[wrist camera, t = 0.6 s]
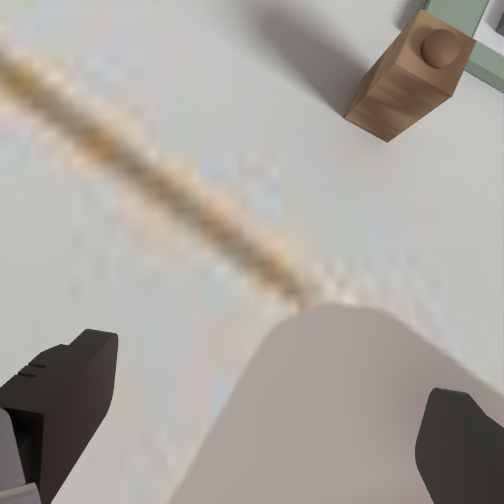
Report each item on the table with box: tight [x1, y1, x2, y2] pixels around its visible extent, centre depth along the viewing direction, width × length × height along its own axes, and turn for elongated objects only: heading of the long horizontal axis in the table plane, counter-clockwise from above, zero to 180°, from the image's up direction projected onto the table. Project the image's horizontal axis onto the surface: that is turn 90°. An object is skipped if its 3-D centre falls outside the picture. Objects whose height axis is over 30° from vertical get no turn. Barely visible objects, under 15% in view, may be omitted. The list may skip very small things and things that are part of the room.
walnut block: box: [344, 9, 477, 143], centre depth 35 cm, size 5×5×11 cm
